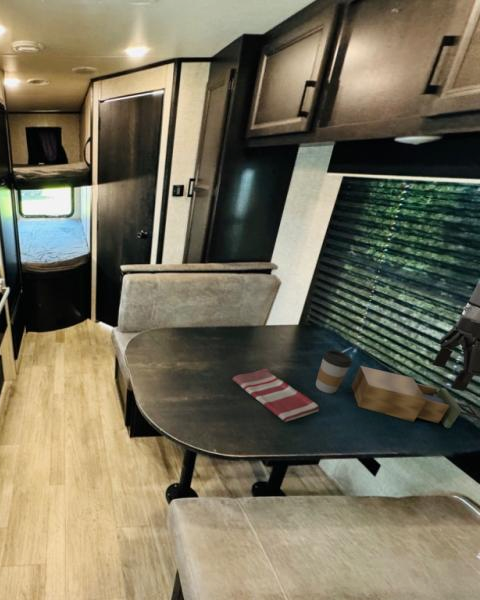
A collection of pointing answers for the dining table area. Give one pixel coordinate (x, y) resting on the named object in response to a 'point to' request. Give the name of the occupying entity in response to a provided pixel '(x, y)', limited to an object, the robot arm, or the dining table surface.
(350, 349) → the dining table surface
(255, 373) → the dish towel
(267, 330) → the dining table surface
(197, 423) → the dining table surface
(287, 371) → the dining table surface
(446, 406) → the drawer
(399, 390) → the cabinet
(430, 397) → the block
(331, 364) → the coffee cup
